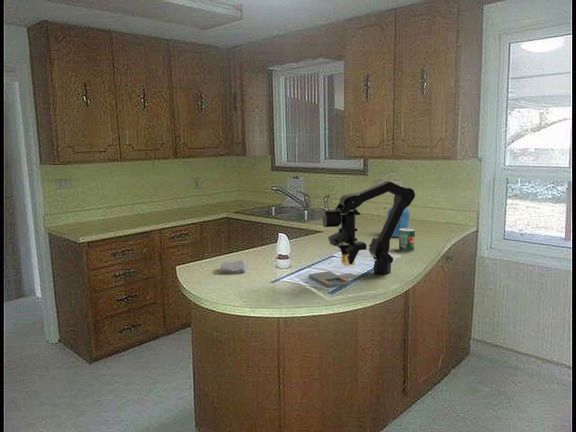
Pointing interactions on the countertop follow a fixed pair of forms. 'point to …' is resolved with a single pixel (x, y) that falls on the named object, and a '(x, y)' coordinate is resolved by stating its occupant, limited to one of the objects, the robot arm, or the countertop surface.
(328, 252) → the countertop surface
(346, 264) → the brass clip
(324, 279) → the rail plate
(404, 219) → the wine bottle
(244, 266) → the stone block
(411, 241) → the canned tomato
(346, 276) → the tab
